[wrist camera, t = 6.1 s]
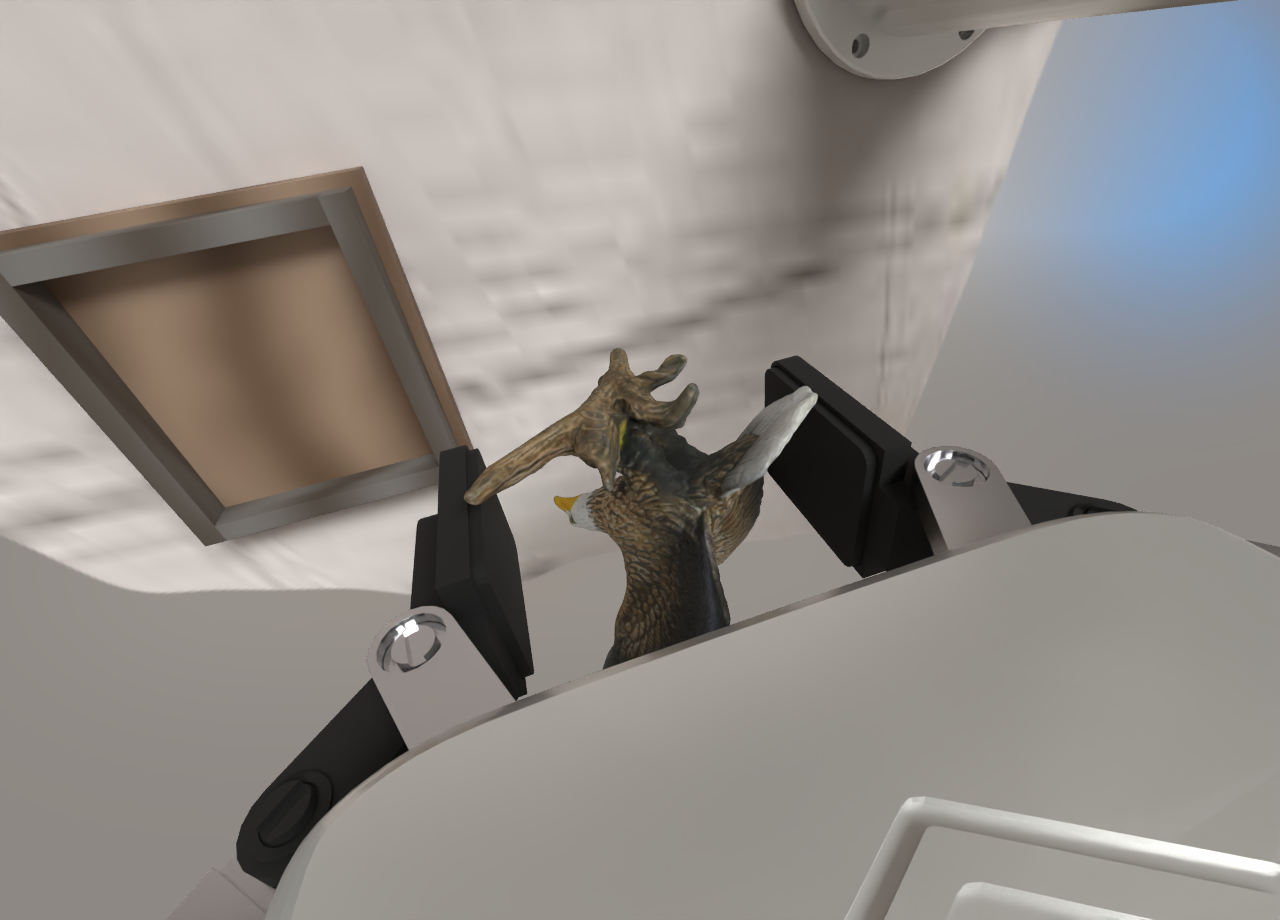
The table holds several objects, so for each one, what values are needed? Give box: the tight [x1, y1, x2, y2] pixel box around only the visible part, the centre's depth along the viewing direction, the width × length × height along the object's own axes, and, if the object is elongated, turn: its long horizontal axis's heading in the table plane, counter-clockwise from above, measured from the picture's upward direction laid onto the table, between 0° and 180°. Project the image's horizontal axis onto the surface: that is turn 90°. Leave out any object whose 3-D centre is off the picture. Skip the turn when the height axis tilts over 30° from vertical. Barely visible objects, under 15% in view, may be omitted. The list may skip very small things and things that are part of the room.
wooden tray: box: [0, 166, 473, 546], centre depth 25 cm, size 14×15×3 cm
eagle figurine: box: [464, 348, 818, 670], centre depth 13 cm, size 8×7×9 cm
